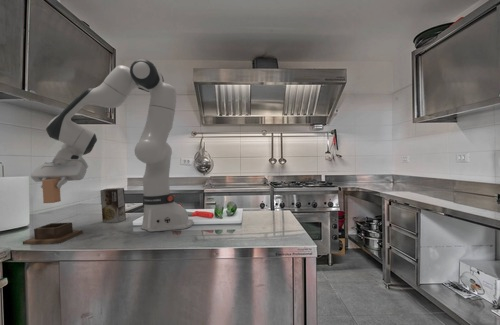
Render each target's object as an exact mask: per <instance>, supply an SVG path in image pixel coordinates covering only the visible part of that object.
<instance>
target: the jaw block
mask: <svg viewBox="0 0 500 325" xmlns="http://www.w3.org/2000/svg"><path fill="white" fill-rule="evenodd" d="M59 181H60V180H59V179H49V180H42V182H41V185H42V186H43V189H42V199H43V201H42V202H43V204H55V203H59V202H62V200H61V188H56V187H55V184H56V183H58V182H59Z"/></svg>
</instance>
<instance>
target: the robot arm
mask: <svg viewBox="0 0 500 325" xmlns="http://www.w3.org/2000/svg"><path fill="white" fill-rule="evenodd" d="M136 88H137V89H139V90H142V91H144V92H148V93H149V95H150V99H149V105H148V111H147V116H146V120H145V121H146V122H145V126H144V128H143V131H142V133H141V135H140V138H139V139H138V140H139V141H138V142H137V143H136V145H135V146H134V155H135V158H136V159H137V160H139V161H140V162H142V163H143V164H145V169H144V170H145V171H144V174H143V176H142V184H143V185H142V186H143V188H142V189H143V196H142V208H143V218H142V224H141V227H140V228H141V229H142V230H144V231H145V230H146V231H147V232H162V231H173V230H174V231H175V230H183V229H188V228H190V227H192V226H193V225H194V223H195V222H194V220H193V219H191V218H189V214H188V211H187V209H186V208H184V207H183V206H181V204H178V203H177V202H175V197H176V196H175V195H176V194H172V193H170V172H171V171H170V169H171V159H172V154H173V151H172V147H171V145H170V144H169V143H168V142H167V140H168V137H169V135H170V134H171V133H170V132H171V131H172V129H173V125H174V124H173V123H174V119H175V113H176V107H177V105H176V104H177V91H176V88H175V87H174V85H171V84H169V83H166V82H165V80H164V77H163V75H162V72H160V70H159V69H158V67H157V66H155V64H154V63H153V62H151V61H150V60H148V59H145V58H139V59H136V60H134V61H133V62H132V63H131V64H130V67H128V66H127V65H122V64H120V65H117V66H116V67H114V68H113V69H112V70H111V71H110V72H109V73H108V74H107V75H106V77H105V79H104V80H103V81H102V83H101V84H99V85H97V87H94V88H93V87H89V88H86V89H85V90H84V91H82V93H80V94H79V95H78V96H77V97H76V98H75V99H73V100H72V101H71V102H70V103H69V105H68V106H66V108H65V107H64V109H63V110H62V112H60V113H59V114H58V115H56V116H55V117H53V118H52V119H51V120H50V121H49V122H47V125H46V128H45V130H46V133H47V135H48V136H49V137H50V139H54V140H56V141H58V142H61V143H62V145H61V148H60V150H58V151H57V153H56V154H55V156H54V158H53V159H52V162H44V163H41V164H39V165H38V166H37V167H36V168H35V169H34V170H33V171H32V172H31V174H30V178H31V179H32V180H33V181H34V182H36V183H40V182H41V183H42V180H49V179H59V180H60V181H59V182H58V183H56V184H55V187H56V188H60V189H61V188H62V186H64V185H65V184H66V183H68V181H69V182H70V181H71V182H72V181H81V180H83V179H84V177H85V176H86V173H87V170H88V168H89V165H88V163H87V161H86V160H85V159H84V157H83V156H85V155H87V154H90V153H91V152H92V151H93V149H94V147H95V144H96V143H97V141H98V138H97V135H96V133H94V131H91V130H89V129H88V128H86V127H83V126H82V125H80V124H78V123H76V122H74V121H73V120H72V118H73V117H74V116H75V115H76V114H77V113H78V112H79V111H80V110H81V109H82V108H83V107H85V106H89V105H92V106H97V107H101V108H108V109H116V108H119V107H121V106H122V105H123V103H124V102H126V100H127V99H128V97H129V95H130V94H131V93H132V91H133V90H134V89H136ZM40 188H41V189H42V190H43V186H42V184H41V185H40Z"/></svg>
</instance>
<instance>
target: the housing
mask: <svg viewBox="0 0 500 325" xmlns="http://www.w3.org/2000/svg"><path fill="white" fill-rule="evenodd" d="M33 232H34V233H33V234H34V235H33V237H31V238H28V239H26V240H23V241H22V245H23V244H32V245H49V244H48V243H60V244H62V243H64V242H66V241H68V240H70V238H71V239H73V238H74V237H76V236H79V235H81V234H84V231H83V229H80V230H79V229H78V230H77V229H75V230H73V222H53V223H52V222H51V223H48V224H45V225H42V226H38V227H35V228H33ZM61 242H62V243H61Z"/></svg>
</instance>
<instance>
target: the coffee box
mask: <svg viewBox="0 0 500 325" xmlns="http://www.w3.org/2000/svg"><path fill="white" fill-rule="evenodd" d="M99 191H100V205H101V215H102V216H101V217H102V218H101V219H102V223H120V222H122V221H126V219H127V215H126V212H127V211H126V201H125V200H126V198H125V187H120V188H119V187H117V188H115V187H114V188H104V189H101V190H99Z"/></svg>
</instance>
